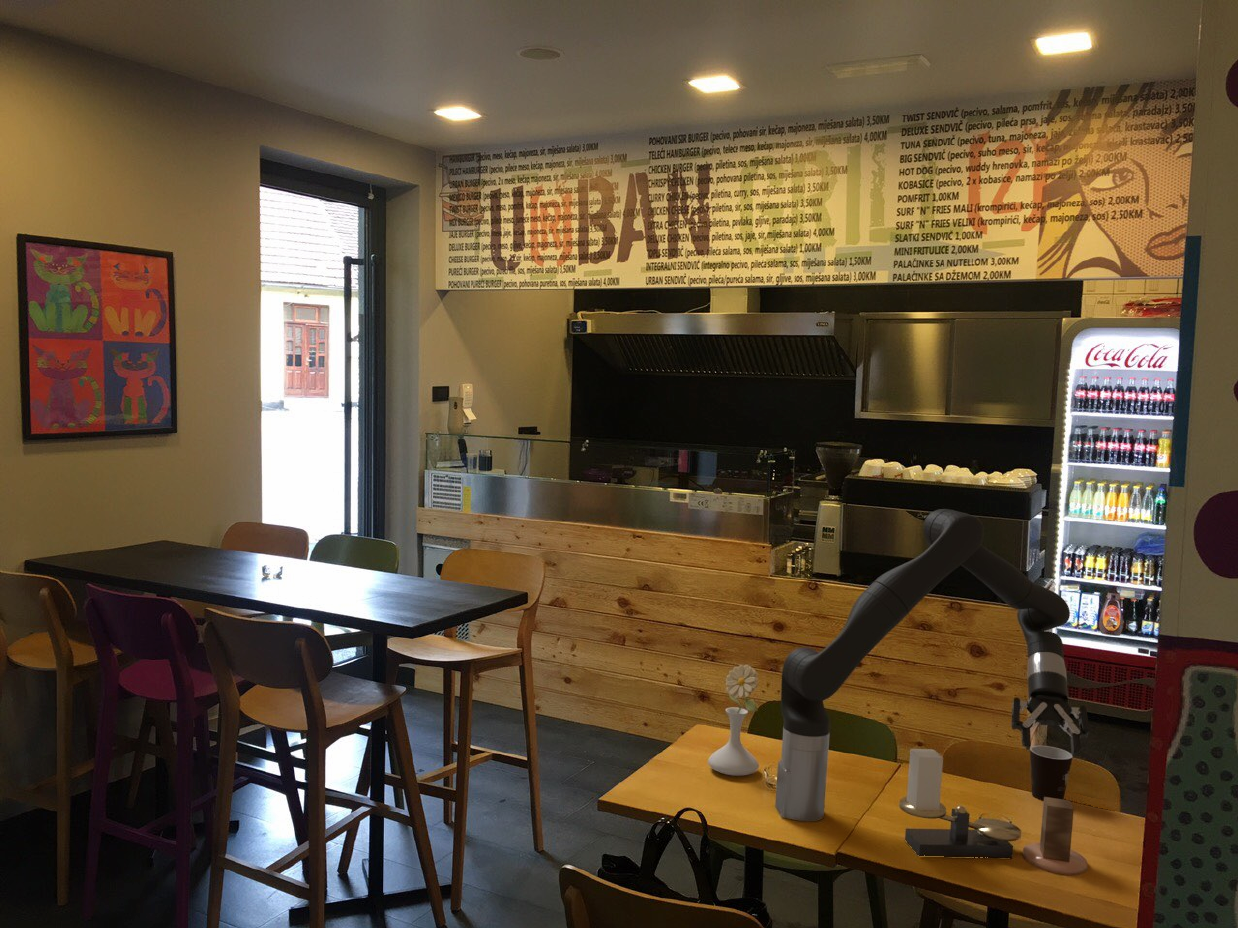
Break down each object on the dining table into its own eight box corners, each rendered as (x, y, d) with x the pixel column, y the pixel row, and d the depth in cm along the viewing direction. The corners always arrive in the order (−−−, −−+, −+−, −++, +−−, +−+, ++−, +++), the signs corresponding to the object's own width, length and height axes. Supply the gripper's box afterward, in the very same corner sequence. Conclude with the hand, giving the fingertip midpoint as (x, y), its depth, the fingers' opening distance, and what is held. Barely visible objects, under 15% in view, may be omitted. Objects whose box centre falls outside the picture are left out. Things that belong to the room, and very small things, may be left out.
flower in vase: (698, 764, 228) (705, 656, 226) (741, 759, 232) (747, 653, 231) (728, 785, 216) (735, 671, 214) (772, 780, 221) (780, 668, 219)
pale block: (915, 809, 186) (919, 756, 185) (906, 800, 190) (910, 748, 190) (939, 810, 186) (943, 757, 186) (929, 800, 191) (933, 749, 190)
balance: (906, 858, 184) (909, 813, 184) (889, 839, 193) (893, 795, 192) (1027, 860, 186) (1031, 816, 186) (1006, 841, 195) (1009, 798, 194)
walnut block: (1043, 858, 186) (1047, 805, 185) (1039, 848, 190) (1044, 796, 189) (1069, 862, 184) (1073, 809, 184) (1065, 852, 189) (1069, 800, 188)
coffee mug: (1050, 806, 214) (1054, 761, 213) (1017, 792, 222) (1021, 747, 221) (1086, 799, 219) (1090, 755, 219) (1053, 785, 227) (1057, 742, 226)
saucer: (1041, 874, 181) (1041, 868, 181) (1012, 847, 192) (1012, 842, 192) (1099, 874, 182) (1099, 869, 182) (1066, 848, 193) (1067, 843, 193)
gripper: (1013, 665, 207) (1015, 736, 196) (1087, 674, 203) (1094, 747, 193) (1008, 684, 212) (1010, 754, 202) (1080, 693, 209) (1086, 765, 198)
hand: (1051, 751), depth 197 cm, fingers open, 8 cm apart
